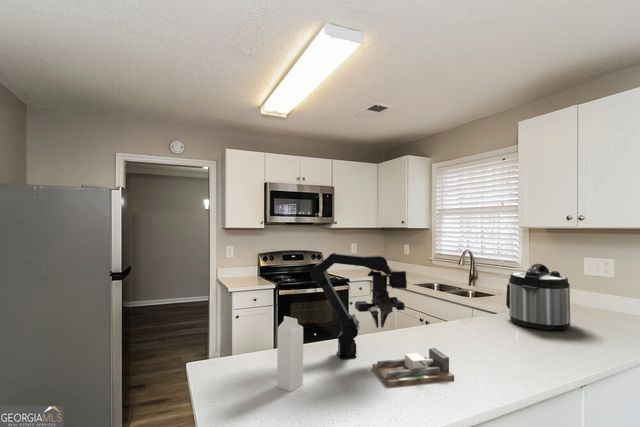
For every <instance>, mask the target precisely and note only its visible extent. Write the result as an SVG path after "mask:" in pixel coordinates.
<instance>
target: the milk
mask: <svg viewBox="0 0 640 427" xmlns="http://www.w3.org/2000/svg"><path fill="white" fill-rule="evenodd" d="M276 352H277V362H276V365H277V369H276V370H277V372H276V373H277V374H276V377H277V378H276V384H277V385H276V386H277V387H278V388H281V389H284V390H285V391H288V392H290V393H291V392H293V391H294V390H296V389H298V388H300V387H301V386H303V385H304V381H303V380H304V326H302V325H301V324H299V323H298V318H295V317H290V316H286V315H284V316H283V321H282V322H281V323H280V324H279V325H278V327H277V351H276Z"/></svg>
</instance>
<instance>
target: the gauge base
mask: <svg viewBox="0 0 640 427" xmlns="http://www.w3.org/2000/svg"><path fill="white" fill-rule="evenodd" d="M422 357H423V358H425V359H433V364H427V368H419V369H408V368H407V367H406V366H405V358H401V359H389V360H377V363H372V366H371V369H372V370H373V371H374V373H376V375H378V377H379V378H380V379H381V380H382V381H383V383H384V384H385V386H387V387H397V386H398V387H399V386H407V385H418V384H419V385H420V384H427V383H438V382H447V381H455V374H453V373H451V372H450V357H449V356H447V355H446V354H444V353H443V352H442V351H440V350H439V349H437V348H435V347H432V348H429V349H428V358H427V357H425V356H422Z"/></svg>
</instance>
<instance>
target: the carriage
mask: <svg viewBox="0 0 640 427" xmlns="http://www.w3.org/2000/svg"><path fill="white" fill-rule="evenodd" d="M423 357H424V356H422V355H421V354H420V353H419V352H413V353H404V359H405V366H406V367H407V368H408V369H419V368H427V364H433V359H429V358H427V359H425V358H423Z"/></svg>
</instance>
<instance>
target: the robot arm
mask: <svg viewBox="0 0 640 427" xmlns="http://www.w3.org/2000/svg"><path fill="white" fill-rule="evenodd" d="M334 264H337V265H347V266H356V267H364V268H367V269H369V270H370V271H369V272H368V273H367V277H372V281H371V282H372V288H371V292H372V294H371V295H372V296H371V297H372V299H371V303H368V302H367V301H365V300H358V301H356V302H355V303H354V309H356V311H357V312H359V313H362V312H363V313H366V312H369V313H370V314H371V316H372V319H373V321H374V324H375V327H376V328H377V329H379V324H380V327H381V328H382V329H383V328H384V326H385V324H386V320H387V318H388V316H389V315H390V314H391V313H393V308H395V309H396V310H397V311H405V309H406V308H405V307H406V306H405V303H404V301H402V300H400V299H398V298H397V297H396V296H389V290H388V286H390V287H391V289H398V290H400V289H401V290H402V289H403V290H407V285H408V282H407V281H408V280H407V272H406V270H392V269H391V267H390V266H389V265H388V260H387V258H386V257H385V256H384V255H383V254H376V255H366V256H364V255H353V254H343V253H341V254H340V253H336V252H333V253H331V254H329V255H328V256H327V257H326V258H325V259H324V260H322V261H321V262H320V263H316V264H315V265H313V266H312V267H311V268H310V269H309V276H310V278H311V279H312V280H313V282H315V283H316V284H317V285H318V286H319V287H320V288H321V289H322V291H323V293H324V296H326V299H327V300H328V302H329V304H330V305H331V307H332V309H333V310H334V312H335V314H336V316H337V317H338V320H339V323H340V324H339V325H340V328H341V330H340V332H339V335H338V337H337V351H336V354H337V356H338V357H339V359H341V360H344V359H356V358H357V343H356V340H355V338H356V337H357V336H358V334H359V330H360V321H359V320H358V319H357V317H356V314H355V313H353V314H350V313H349V312H348V310H347V308H346V306H345V305H344V303H343V301H342V300H341V298H340V296H339V295H338V293H337V290H335V287H334V286H333V284H332V283H331V279H330V275H329V272H328V269H330V268H331V267H333V265H334ZM378 309H379V311H380V323H379V311H378Z"/></svg>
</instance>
